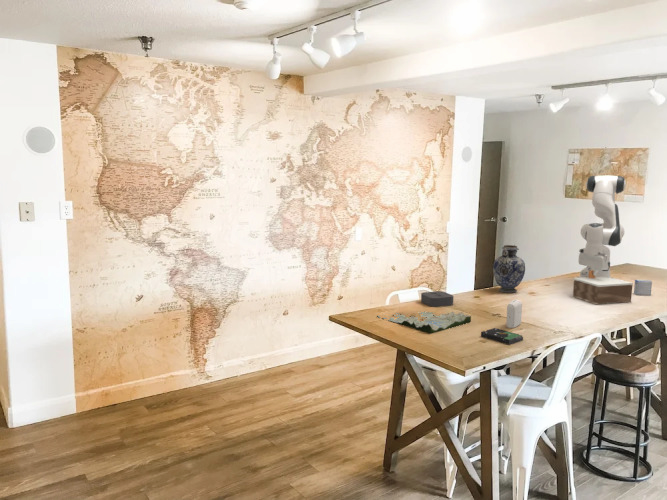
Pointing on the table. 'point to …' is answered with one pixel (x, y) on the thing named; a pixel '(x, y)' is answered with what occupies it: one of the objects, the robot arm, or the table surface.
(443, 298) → the streaming box
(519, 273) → the decorative vase
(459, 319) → the topographic map model
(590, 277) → the box lid
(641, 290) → the medicine box
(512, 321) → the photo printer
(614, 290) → the wooden box
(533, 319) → the table surface
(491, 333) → the disk drive
